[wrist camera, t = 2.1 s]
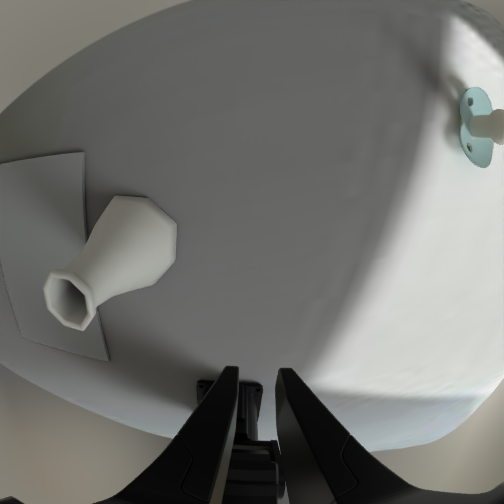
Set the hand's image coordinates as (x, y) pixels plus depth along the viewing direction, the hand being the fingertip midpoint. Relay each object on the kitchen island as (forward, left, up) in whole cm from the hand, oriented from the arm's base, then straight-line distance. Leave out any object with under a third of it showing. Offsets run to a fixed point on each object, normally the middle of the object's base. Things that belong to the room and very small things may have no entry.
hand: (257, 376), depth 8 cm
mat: (-3, +20, -13) cm, 24 cm away
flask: (0, +9, -13) cm, 16 cm away
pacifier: (+13, -19, -13) cm, 27 cm away
